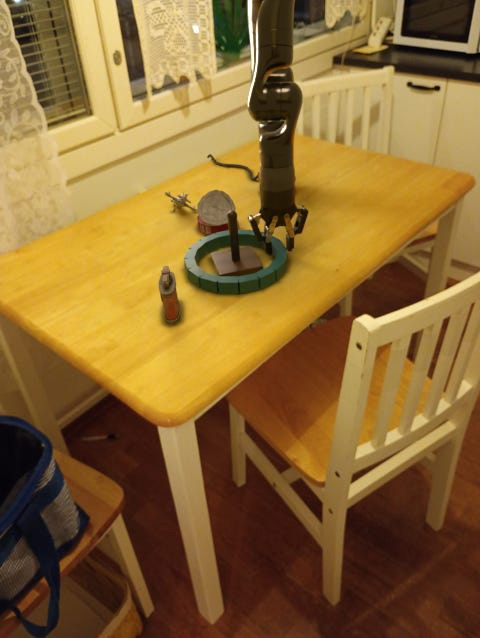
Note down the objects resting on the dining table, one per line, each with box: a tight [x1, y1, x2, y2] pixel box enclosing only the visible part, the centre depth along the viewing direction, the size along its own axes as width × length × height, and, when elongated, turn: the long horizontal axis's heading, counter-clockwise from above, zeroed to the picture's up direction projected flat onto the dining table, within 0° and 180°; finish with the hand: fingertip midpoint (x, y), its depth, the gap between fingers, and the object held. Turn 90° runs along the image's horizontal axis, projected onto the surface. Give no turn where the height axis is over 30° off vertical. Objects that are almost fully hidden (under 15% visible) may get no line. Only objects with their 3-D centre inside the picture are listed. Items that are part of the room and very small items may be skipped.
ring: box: [183, 229, 288, 295], centre depth 120 cm, size 23×23×3 cm
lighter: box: [158, 265, 182, 325], centre depth 105 cm, size 8×3×10 cm, turn 5°
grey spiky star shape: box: [165, 190, 197, 213], centre depth 144 cm, size 10×6×9 cm
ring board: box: [209, 210, 264, 277], centre depth 117 cm, size 10×10×14 cm
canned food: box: [196, 189, 237, 236], centre depth 135 cm, size 11×10×10 cm
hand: (279, 251), depth 122 cm, fingers open, 4 cm apart
